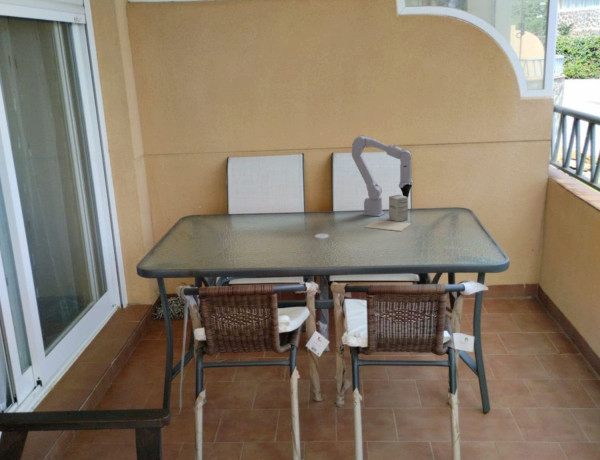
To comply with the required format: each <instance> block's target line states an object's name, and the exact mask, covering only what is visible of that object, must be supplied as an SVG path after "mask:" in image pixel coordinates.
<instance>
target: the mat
mask: <svg viewBox="0 0 600 460" xmlns="http://www.w3.org/2000/svg"><path fill="white" fill-rule="evenodd" d="M410 226H412V223H411V222H410V223H408V222H401V221H399V222H396V221H389V220H380V219H379V220H377V219H376V220H374V221H371V222H370V223H369V224H367V225H365V226H364V228H365V229H374V230H375V229H376V230H383V231H384V230H385V231H395V232H403V231H404V230H406V229H408V228H409V227H410Z"/></svg>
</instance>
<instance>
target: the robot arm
mask: <svg viewBox="0 0 600 460" xmlns="http://www.w3.org/2000/svg"><path fill="white" fill-rule="evenodd" d="M351 146H352V148H351V157H352V159H353V162H354V163H355V165H356V167H357V169H358V171H359V173H360V175H361V177H362V179H363V181H364V183H365V185H366V190H367V195H368V197H366V198H365V199H364V200H363V201H364V202H363V216H371V217H372V216H373V217H381V216H382V215H384V214H385V213H386V212H384V211H383V197H382V196H381V195H382V192H383V189H382V187H381V186H380V185H379V184H378V183H377V181H375V179H374V176H373V174H372V173H371V171H370V169H369V167H368V165H367V163H366V160H365V159H364V157H363V151H364V148H369V147H373V148H376V149H378V150H381V151H384V152H385V153H386V155H387V156H389V157H393V158H394V159H396V160H400V165H399V166H400V167H399V168H400V169H399V171H400V172H399V173H400V176H399V180H400V181H399V183H398V188H399V189H400V191H401V193H402V194H401V195H402V196H406V197H408V198H409V194H410V192H411V188H412V187H413V183H414V181H413V179H412V160H411V159H412V153H411V151H410V150H409V149H405V148H400V147H399V146H397V145H396V144H390V145H389V144H386V143H383V142H381V141H379V140H378V139H375V138H373V137H370V136H366V135H364V134H359V135H358V136H357V137H356V138H354V140H353V142H352V144H351Z"/></svg>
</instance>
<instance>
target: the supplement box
mask: <svg viewBox="0 0 600 460" xmlns="http://www.w3.org/2000/svg"><path fill="white" fill-rule="evenodd" d="M408 205H409V196H408V197H406V196H403V194H396V195H395V194H394V195H389V196H388V219H389V220H392V222H405V221H408V220H409V219H408V215H409V213H408V211H409V209H408V207H409V206H408Z"/></svg>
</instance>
